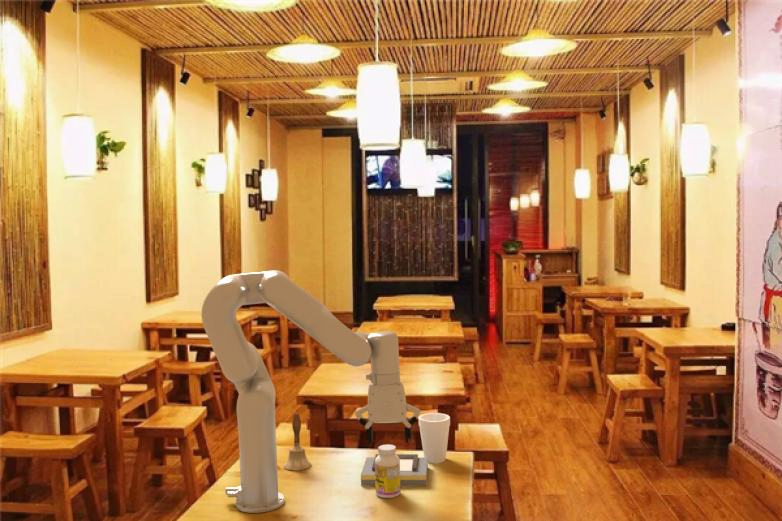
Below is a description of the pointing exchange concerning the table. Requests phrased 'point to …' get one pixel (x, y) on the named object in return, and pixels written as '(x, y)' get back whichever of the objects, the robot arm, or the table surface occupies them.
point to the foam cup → (434, 436)
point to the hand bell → (297, 449)
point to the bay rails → (403, 456)
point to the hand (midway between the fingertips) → (389, 441)
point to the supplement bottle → (387, 472)
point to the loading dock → (406, 472)
